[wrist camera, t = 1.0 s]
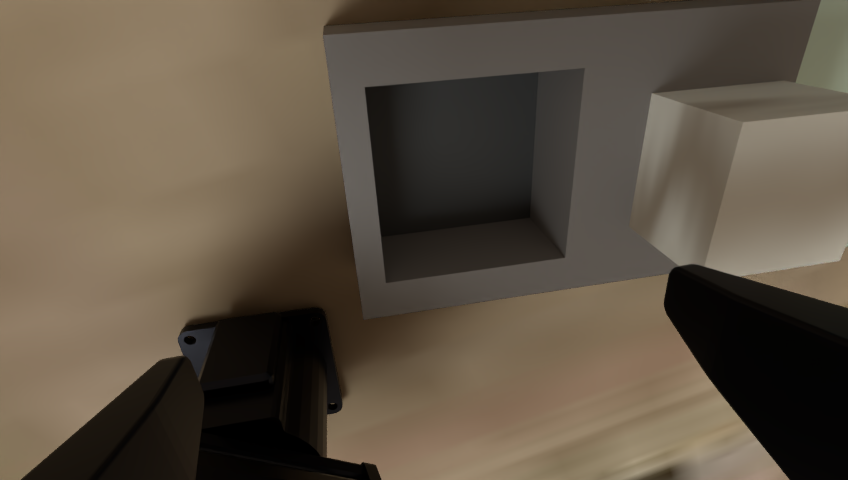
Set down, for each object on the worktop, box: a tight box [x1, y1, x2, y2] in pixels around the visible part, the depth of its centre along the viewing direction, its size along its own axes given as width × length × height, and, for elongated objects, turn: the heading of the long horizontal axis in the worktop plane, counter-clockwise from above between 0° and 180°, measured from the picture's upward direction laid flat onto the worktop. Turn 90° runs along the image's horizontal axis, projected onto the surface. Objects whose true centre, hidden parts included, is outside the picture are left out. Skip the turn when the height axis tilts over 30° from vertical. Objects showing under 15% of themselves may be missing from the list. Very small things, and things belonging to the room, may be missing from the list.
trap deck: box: [323, 0, 848, 320], centre depth 20 cm, size 10×34×4 cm, turn 93°
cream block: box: [629, 81, 848, 276], centre depth 16 cm, size 5×5×4 cm
